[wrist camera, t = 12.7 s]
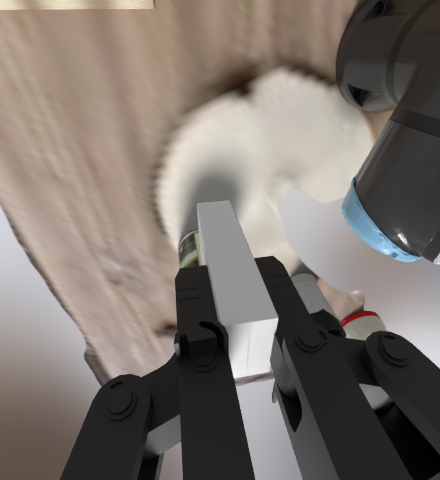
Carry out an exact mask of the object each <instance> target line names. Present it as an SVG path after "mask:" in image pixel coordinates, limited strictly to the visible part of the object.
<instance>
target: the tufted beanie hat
mask: <svg viewBox="0 0 440 480" xmlns="http://www.w3.org/2000/svg"><path fill="white" fill-rule="evenodd" d="M341 326H342V327H343V329H344V330H345V332H346V338H351V339H358V340H365V341H366V339H367V337H368V336H369V335H370V334H372V333H373V332H377V331H387V330H386V328H385V325H384V323H383V321H382V320H381V318H380V317H379V316H378V315H377V314H376V313H375V312H372V311H364V312H358V313H356V314H353V315H351V316H349V317H347V318H345V319H344V320H343V321H341Z"/></svg>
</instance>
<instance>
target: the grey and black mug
mask: <svg viewBox="0 0 440 480" xmlns="http://www.w3.org/2000/svg"><path fill="white" fill-rule="evenodd" d="M291 280H292V282H293V285H294V286H295V288H296V289H297V291H298V293H299V295H300V297H301V299H302V301H303V303H304V304H305V306H306V308H307V310H308V312H309V314H310V316H311V318H312V319H313V320H314V322H315V323H317V324H319V325H320V326H322V327H323V328H325V329H326V330H327V331H328V333H330V334H332V335H335V336H339V337H344V338H346V332H345V330H344V329H343V327H342V326H341V322H340V321H339V319H338V317H337V316H336V314H335V313H334V311H333V309H332V308H331V306H330V305H329V303H328V301H327V300H326V298H325V297H324V295H323V293H322V292H321V290H320V289H319V287H318V285H317V284H316V279H315V277H314V276H313V275H311V274H307V273H302V274H297V275H294V276H292V277H291Z"/></svg>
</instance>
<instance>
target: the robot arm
mask: <svg viewBox="0 0 440 480" xmlns="http://www.w3.org/2000/svg"><path fill="white" fill-rule="evenodd" d="M336 78H337V83H338V87H339V90H340V92H341V94H342V96H343V97H344V98H345V100H346V101H347V102H348V103H349V104H351V105H352V106H354V107H356V108H359V109H361V110H364V111H368V112H386V111H391V110H394V112H393V113H392V115H391V117H390V119H389V120H388V122H387V123H386V125H385V127H384V129H383V130H382V132H381V134H380V136H379V137H378V139H377V141H376V143H375V144H374V146H373V148H372V150H371V151H370V153H369V155H368V157H367V158H366V160H365V162H364V163H363V165H362V167H361V168H360V170H359V172H358V173H357V175H356V176H355V177H354V178H353V180H352V182H351V187H350V189H349V191H348V193H347V195H346V197H345V198H344V201H343V204H342V211H343V214H344V218H345V220H346V222H347V223H348V225H350V227H351V229H352V230H353V231H354V232H355V233H356V234H357V235H358V236H359V237H360V238H361V239H363V240H364V241H365V242H367V243H368V244H369V245H370V246H372V247H373V248H375V249H377V250H378V251H380V252H381V253H383V254H385V255H391V256H392V257H393V258H394V259H397V260H400V261H404V262H413V261H415V260H418V259H421V258H422V257H424V258H426V259H428V260H429V261H431V262H433V263H435V264H440V0H367V1H365V3H364V4H363V5H362V6H361V7H360V8H359V9H358V11H357V12H356V13H355V15H354V16H353V18H352V19H351V21H350V23H349V24H348V26H347V28H346V30H345V33H344V35H343V37H342V40H341V43H340V46H339V50H338V54H337V61H336ZM197 216H198V229H199V242H200V253H201V258H202V264H203V265H202V266H194V267H186V268H180V270H179V272H178V274H177V276H176V278H175V290H176V310H177V329H178V331H177V333H176V334H175V340H174V348H175V353H174V354H173V356H172V358H171V359H170V360H169V361H168V362H167V363H166V364H165V365H163V366H162V367H160V368H159V369H157V370H155V371H153V372H151V373H149V374H147V375H145V376H143V377H139V376H136V375H132V374H126V375H119V376H117V377H115V378H113V379H111V380H109V381H108V382H107V383H106V384H105V385H104V386H103V387H102V388H101V389H100V390H99V391H98V393H97V395H96V396H95V398H94V399H93V401H92V404H91V406H90V409H89V411H88V413H87V416H86V418H85V421H84V423H83V425H82V428H81V430H80V433H79V435H78V437H77V440H76V442H75V445H74V447H73V449H72V452H71V455H70V457H69V459H68V462H67V464H66V466H65V469H64V471H63V473H62V476H61V478H60V480H159V476H160V471H161V465H162V461H163V455H164V452H165V451H166V450H168V449H170V448H171V447H173V446H174V445H176V444H177V443H179V442H181V444H182V465H183V480H255V476H254V472H253V467H252V462H251V457H250V452H249V448H248V443H247V438H246V433H245V429H244V424H243V419H242V414H241V410H240V405H239V400H238V396H237V391H236V386H235V381H234V378H238V377H244V376H249V375H255V374H261V373H266V372H269V370H270V364H271V366H272V369H273V372H274V375H275V382H274V387H273V392H272V401H273V403H276V401H277V399H278V402H279V405H280V408H281V412H282V415H283V418H284V421H285V424H286V427H287V431H288V434H289V437H290V440H291V443H292V446H293V450H294V453H295V456H296V459H297V462H298V465H299V469H300V472H301V475H302V478H303V480H440V369H439V368H438V367H437V366H436V365H435V364H434V363H433V362H432V361H431V360H429V359H428V358H427V357H426V356H425V355H424V354H423V353H422V352H421V351H420V350H418V349H417V348H416V347H415V346H414V345H413V344H412V343H410V342H409V341H408V340H406V339H405V338H403V337H402V336H400V335H397V334H395V333H392V332H388V331H377V332H373V333H372V334H370V335H369V336H368V337H367V339H366V341H365V340H358V339H351V338H344V337H339V336H335V335H332V334H330V333H328V331H327V330H326V329H325V328H323V327H322V326H320V325H319V324H317V323H315V322H314V320H313V319H312V318H311V316H310V314H309V312H308V310H307V308H306V306H305V304H304V303H303V301H302V299H301V297H300V295H299V293H298V291H297V289H296V288H295V286H294V285H293V282H292V280H291V278H290V277H289V274H288V273H287V271H286V269H285V267H284V265H283V264H282V263H281V262H280V261H279V260H277V259H276V258H275V257H274V256H268V257H260V258H254V257H253V255H252V253H251V250H250V248H249V245H248V243H247V241H246V238H245V236H244V233H243V231H242V229H241V226H240V224H239V221H238V219H237V216H236V214H235V212H234V209H233V207H232V204H231V202H230V200H223V201H212V202H202V203H197Z"/></svg>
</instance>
